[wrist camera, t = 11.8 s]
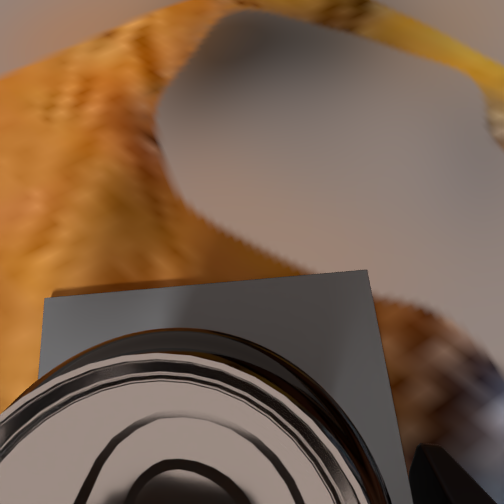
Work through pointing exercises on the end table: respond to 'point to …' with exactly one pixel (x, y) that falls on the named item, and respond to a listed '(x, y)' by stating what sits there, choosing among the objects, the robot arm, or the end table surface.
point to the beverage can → (182, 429)
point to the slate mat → (261, 339)
